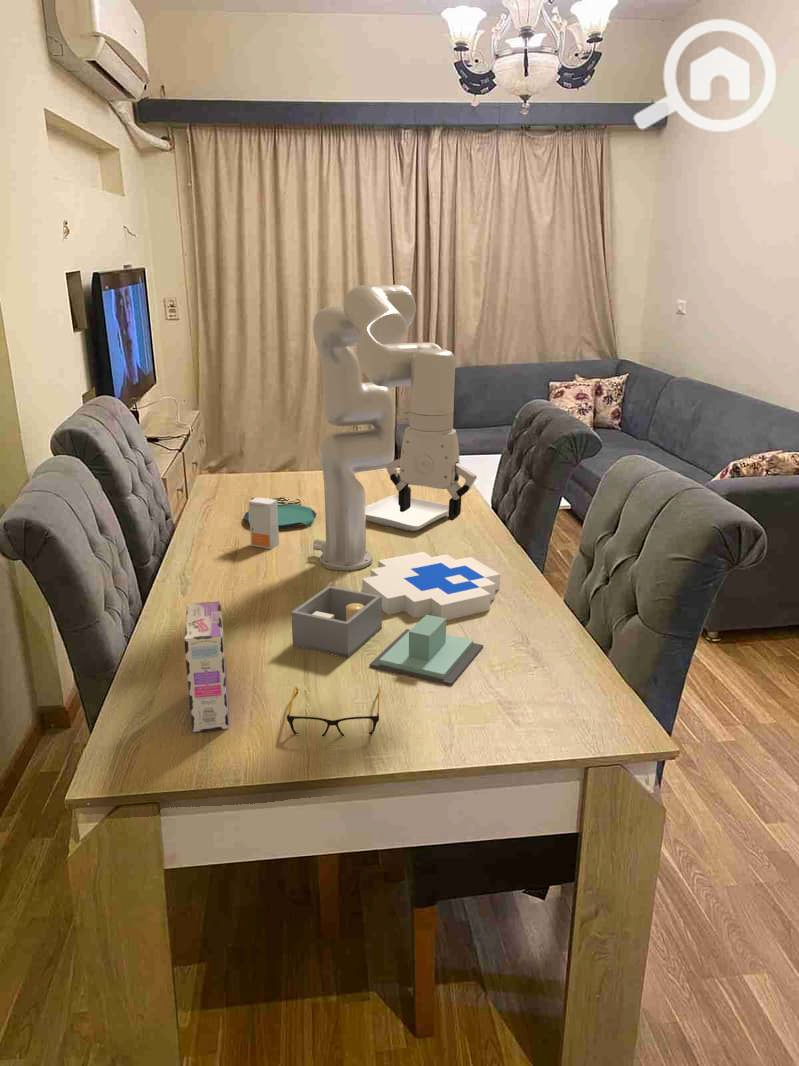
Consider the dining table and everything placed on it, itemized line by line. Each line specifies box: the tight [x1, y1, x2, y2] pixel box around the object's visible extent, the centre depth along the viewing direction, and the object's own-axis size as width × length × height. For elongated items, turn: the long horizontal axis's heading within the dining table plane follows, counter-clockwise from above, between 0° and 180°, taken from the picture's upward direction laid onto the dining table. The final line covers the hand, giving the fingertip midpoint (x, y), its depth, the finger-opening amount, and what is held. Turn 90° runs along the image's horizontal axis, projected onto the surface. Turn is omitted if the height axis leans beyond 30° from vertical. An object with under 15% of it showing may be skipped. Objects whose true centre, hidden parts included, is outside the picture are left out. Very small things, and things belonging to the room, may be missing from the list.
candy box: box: [183, 600, 230, 733], centre depth 132 cm, size 14×6×16 cm, turn 12°
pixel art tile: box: [361, 551, 501, 621], centre depth 180 cm, size 28×4×28 cm
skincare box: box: [248, 496, 280, 550], centre depth 206 cm, size 6×4×12 cm
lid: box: [379, 614, 474, 679], centre depth 151 cm, size 13×15×6 cm
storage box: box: [290, 585, 383, 659], centre depth 159 cm, size 12×14×7 cm
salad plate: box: [365, 494, 449, 532], centre depth 228 cm, size 21×21×3 cm
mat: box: [369, 628, 484, 687], centre depth 152 cm, size 16×16×1 cm
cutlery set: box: [243, 496, 317, 528], centre depth 232 cm, size 20×30×2 cm, turn 10°
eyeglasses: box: [286, 685, 381, 737], centre depth 133 cm, size 14×14×4 cm
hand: (429, 514), depth 149 cm, fingers open, 9 cm apart
